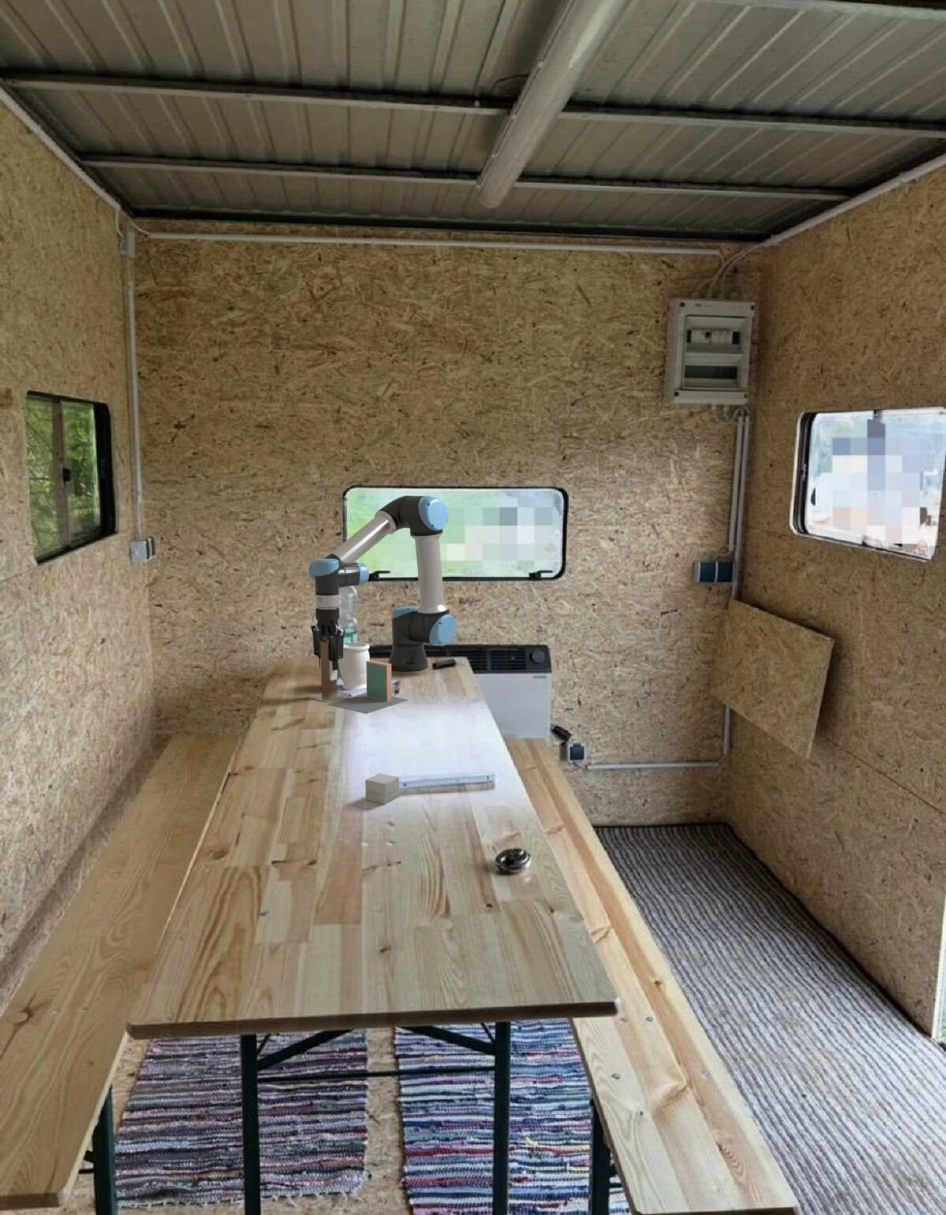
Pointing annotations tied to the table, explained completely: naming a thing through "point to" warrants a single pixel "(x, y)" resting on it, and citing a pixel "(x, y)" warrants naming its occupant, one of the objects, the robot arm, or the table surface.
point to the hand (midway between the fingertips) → (328, 678)
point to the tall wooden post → (327, 678)
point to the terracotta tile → (378, 680)
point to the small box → (382, 788)
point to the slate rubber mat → (365, 703)
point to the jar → (354, 665)
